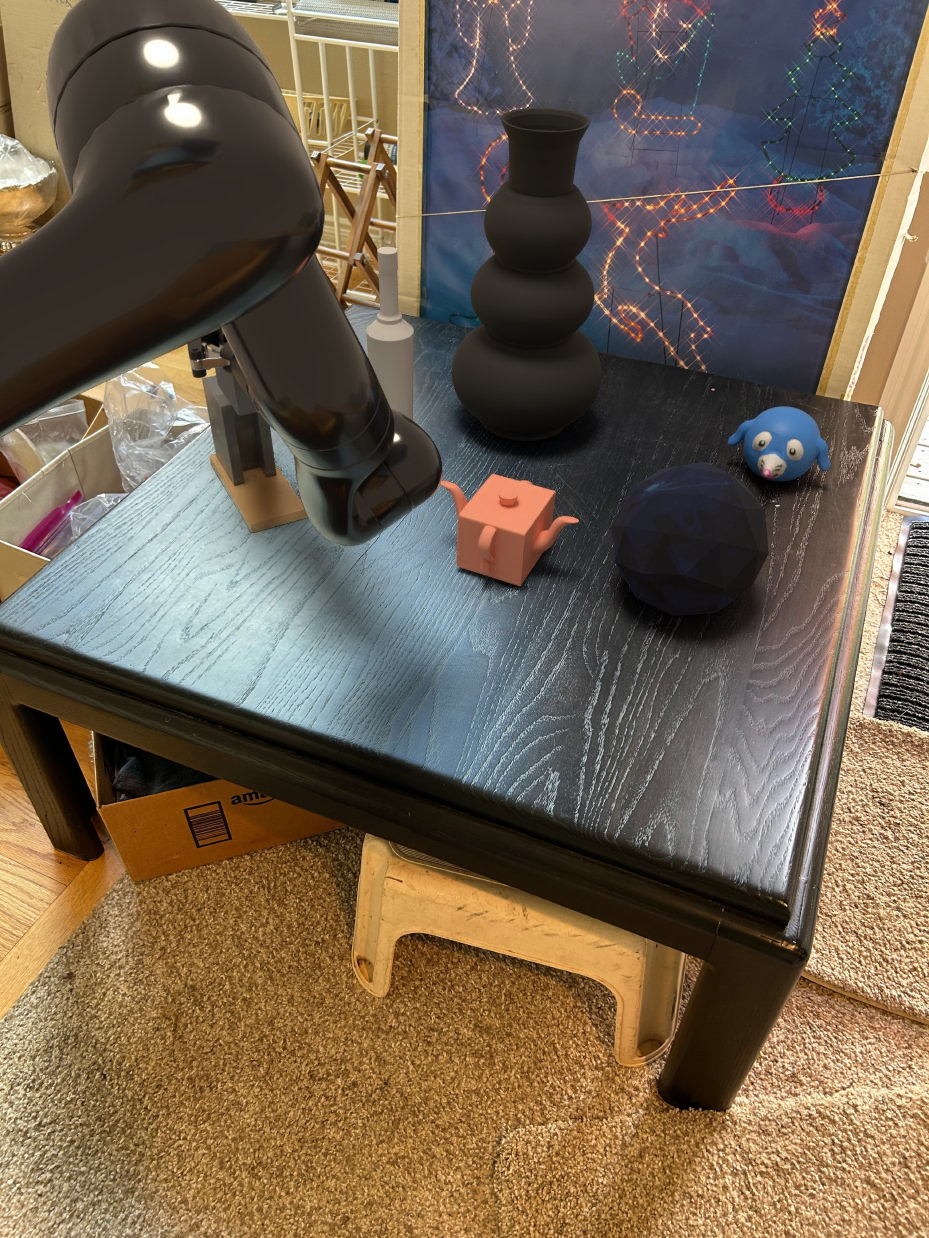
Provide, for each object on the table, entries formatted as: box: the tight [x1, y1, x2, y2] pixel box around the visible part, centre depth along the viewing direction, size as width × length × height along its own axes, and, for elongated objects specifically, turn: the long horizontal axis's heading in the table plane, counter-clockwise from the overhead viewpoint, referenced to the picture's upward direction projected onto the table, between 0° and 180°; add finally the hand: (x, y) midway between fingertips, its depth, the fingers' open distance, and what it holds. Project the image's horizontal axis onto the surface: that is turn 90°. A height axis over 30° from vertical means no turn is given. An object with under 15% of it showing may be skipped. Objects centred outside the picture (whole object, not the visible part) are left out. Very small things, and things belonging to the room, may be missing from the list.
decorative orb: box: [610, 461, 770, 617], centre depth 86 cm, size 14×15×15 cm
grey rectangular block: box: [210, 348, 257, 416], centre depth 89 cm, size 5×9×10 cm, turn 28°
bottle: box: [365, 246, 415, 421], centre depth 100 cm, size 5×5×25 cm
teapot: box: [440, 473, 580, 587], centre depth 92 cm, size 12×15×8 cm
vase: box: [451, 107, 603, 442], centre depth 104 cm, size 18×18×35 cm
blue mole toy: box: [727, 406, 832, 482], centre depth 104 cm, size 12×12×8 cm
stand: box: [201, 374, 308, 534], centre depth 99 cm, size 6×15×11 cm, turn 28°
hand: (232, 309), depth 88 cm, fingers closed on grey rectangular block, 5 cm apart
